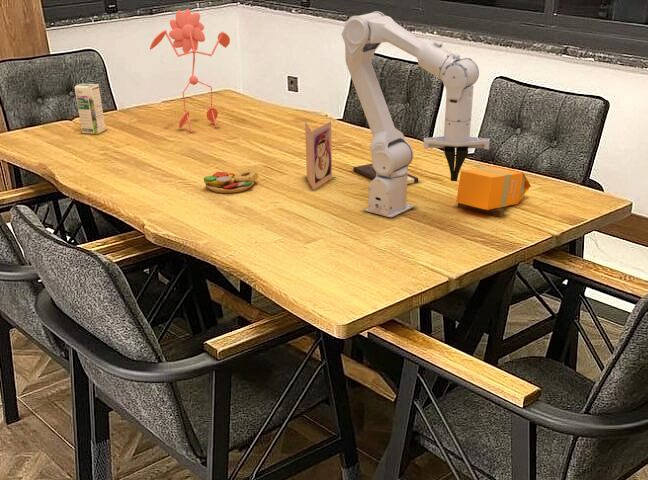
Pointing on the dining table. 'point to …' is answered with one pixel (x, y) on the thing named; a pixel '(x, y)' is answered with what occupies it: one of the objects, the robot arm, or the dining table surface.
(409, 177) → the chocolate bar
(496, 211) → the walnut batten
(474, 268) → the dining table surface
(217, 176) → the toy food set
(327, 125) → the greeting card
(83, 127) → the syrup box
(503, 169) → the orange juice
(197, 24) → the figurine
